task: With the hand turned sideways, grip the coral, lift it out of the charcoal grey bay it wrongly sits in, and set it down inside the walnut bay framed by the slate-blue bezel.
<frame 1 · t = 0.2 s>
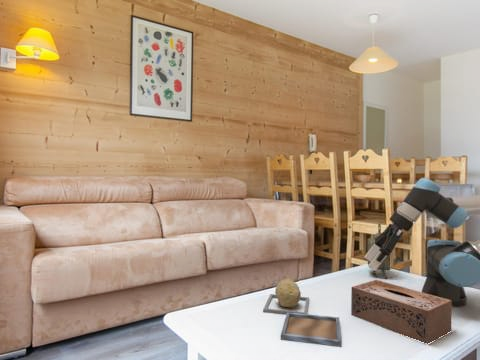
hand: (369, 263, 128), 15 cm above the table, tool tilted 35°, fingers open, 13 cm apart
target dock: (311, 330, 108), on the table
tissue box cover: (398, 324, 113), on the table
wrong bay: (287, 305, 127), on the table
coral: (287, 306, 127), on the table
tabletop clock: (378, 275, 167), on the table
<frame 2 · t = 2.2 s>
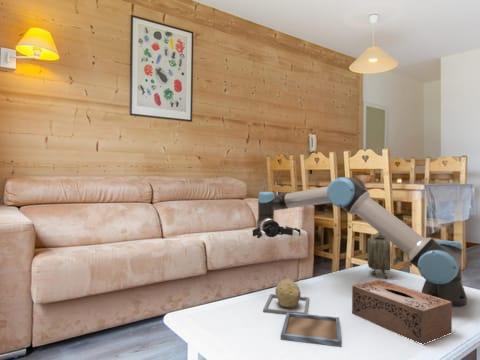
hand: (281, 236, 137), 24 cm above the table, tool horizontal, fingers open, 13 cm apart
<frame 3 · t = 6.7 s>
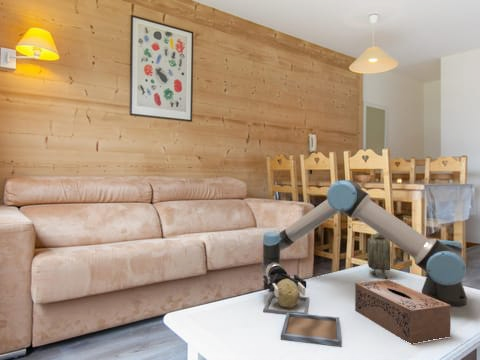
hand: (290, 292, 123), 7 cm above the table, tool horizontal, fingers closed on coral, 9 cm apart
coral: (286, 306, 127), on the table, touching gripper
when the fingers open (8 cm above the table, at t = 12.5 s): coral drops 1 cm, resting on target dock.
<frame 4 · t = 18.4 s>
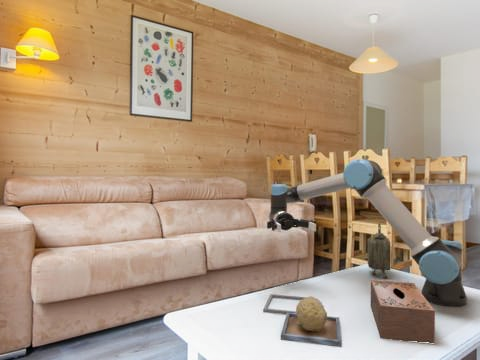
hand: (297, 228, 131), 28 cm above the table, tool horizontal, fingers open, 13 cm apart
coral: (310, 329, 108), resting on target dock
at the end: coral inside the target area on the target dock (0.4 cm from its centre), point 0.2 cm above the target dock's base; coral tilted 0°; the gripper is holding nothing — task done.
